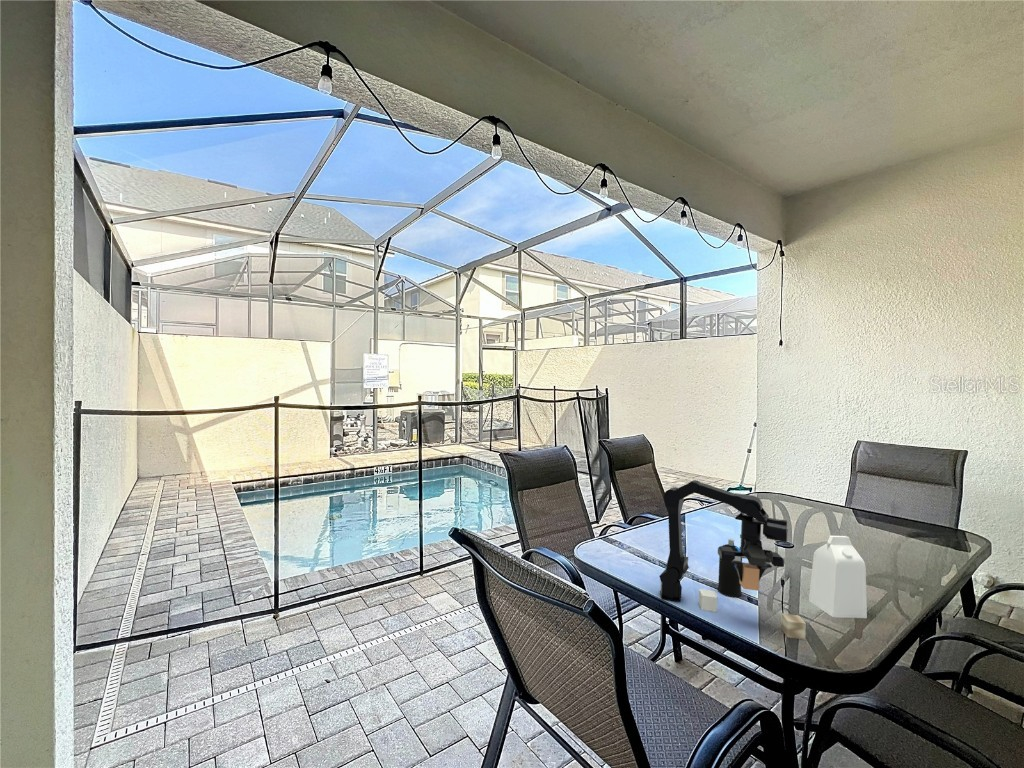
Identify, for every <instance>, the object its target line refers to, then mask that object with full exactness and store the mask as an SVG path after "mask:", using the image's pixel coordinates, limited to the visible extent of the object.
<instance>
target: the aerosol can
mask: <svg viewBox="0 0 1024 768" xmlns="http://www.w3.org/2000/svg"><path fill="white" fill-rule="evenodd" d="M727 540H728V543H727V544H723V545H722V546H724V547H731V549H732V550H733V551H738V552H740V547H738V546H736V545H735V539H733V538H728V539H727ZM718 556H719V555H718ZM718 561H719V562H718V586H717V592H718V593H720V594H722V595H723V596H726V597H730V598H740V597H742V586H741V584H740V583H739V576H738V573H737V570H736V567H735V564H734V563H732V561H728V560H723V559H721V558H720V556H719V558H718ZM741 562H743V558H741Z"/></svg>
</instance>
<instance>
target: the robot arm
mask: <svg viewBox="0 0 1024 768" xmlns="http://www.w3.org/2000/svg"><path fill="white" fill-rule="evenodd" d="M693 494H697V495H700V496H703V497H706V498H709V499H712V500H714V501H717V502H720V503H723V504H727V505H728V506H731V507H732V508H734V509H735V510H737V511H738V512H740V513H738V514H737V515H736V516H735V517H734V519H735V520H737V521H741V526H740V529H741V530H740V534H739V537H740V546H739V549H740V552H738V551H733V550H732V549H731V547H724V546H723V545H720V546H718V547H717V555H718V556H720V558H721V559H723V560H728V561H732V563H734V564H735V567H736V570H737V573H738V576H739V579H740V581H742V578H743V576H742V565H743V563H744V562H743V561H742V562H743V563H742V562H741V558H742V559H746V560H747V563H749V564H750V565H756V566H757V567H758V568H759V582H760V581H761V578H762V576H763V574H764V573H765V571H767V569H771V568H772V567H773V566H774V567H780V568H784V567H785V559H784V557H782V556H781V555H780V554H779V553H778V552H775V551H772V550H769V549H763V544H762V539H761V537H762V536H763V535H764V537H766V539H769V540H772V541H776V542H777V541H778V542H782V543H786V544H787V543H788V536H789V529H788V521H787V519H786V520H785V519H778V518H772V517H769V514H768V513H767V512H766V510H765V508H764V507H763V502H762V500H761V499H760V498H759V497H757V496H755V495H751V494H750V495H749V494H744V493H742V494H741V493H734V492H731V491H727V490H725V489H722V488H718V487H715V486H712V485H710V484H707V483H704V482H701V481H699V480H697V479H693V480H691V481H690V482H688V483H686V484H684V485H681V486H680V487H678V486H673V487H670V488H669V489H667V490H666V491H665V492H664V493H663V503H664V508H665V509H666V511H667V514H668V520H667V521H668V540H669V541H668V543H669V555H668V558H667V561H666V567H665V569H664V570H663V572H661V573H660V575H659V579H660V589H659V593H660V598H661V597H662V598H661V599H662V600H664V599H666V601H673V602H679V603H680V602H681V598H682V589H683V587H682V583H681V581H680V580H681V579H682V578H683V577H684V576H685V574H686V573H687V571H688V570H689V569H690V566H689V556H685V555H684V552H683V542H682V541H683V536H682V515H681V514H682V509H683V506H684V500H685V498H686V497H688V496H690V495H693ZM772 565H773V566H772Z"/></svg>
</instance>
